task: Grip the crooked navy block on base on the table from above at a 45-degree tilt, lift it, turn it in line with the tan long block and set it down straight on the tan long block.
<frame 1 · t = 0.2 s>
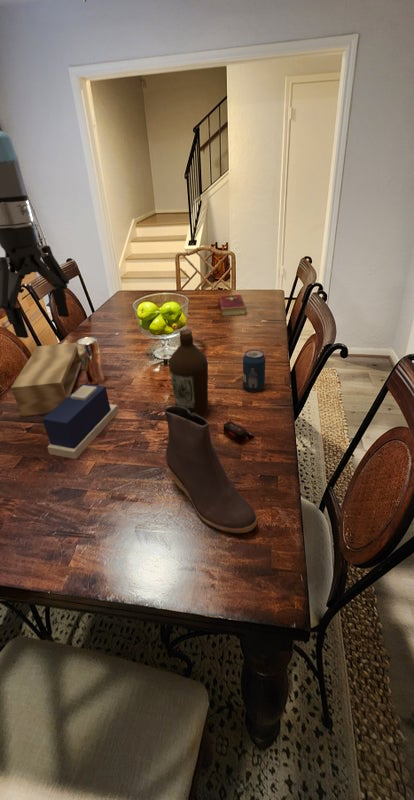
hand: (44, 326, 86), 31 cm above the table, tool pointing down, fingers open, 13 cm apart
navy block on base: (86, 431, 103), on the table
olive oil: (192, 412, 109), on the table
wireless earbuds: (239, 438, 98), on the table
soda can: (253, 387, 120), on the table
tan long block: (55, 389, 125), on the table
hardcover book: (231, 309, 187), on the table
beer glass: (96, 381, 129), on the table
boot: (208, 504, 79), on the table
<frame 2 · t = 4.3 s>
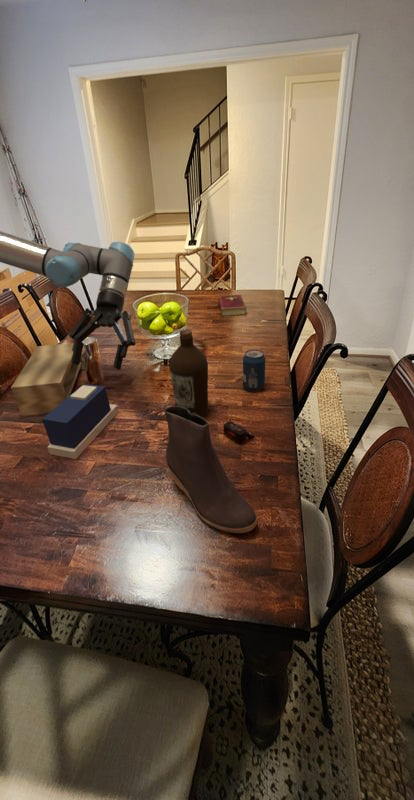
hand: (95, 366, 104), 15 cm above the table, tool tilted 45°, fingers open, 13 cm apart
nothing on the table moved.
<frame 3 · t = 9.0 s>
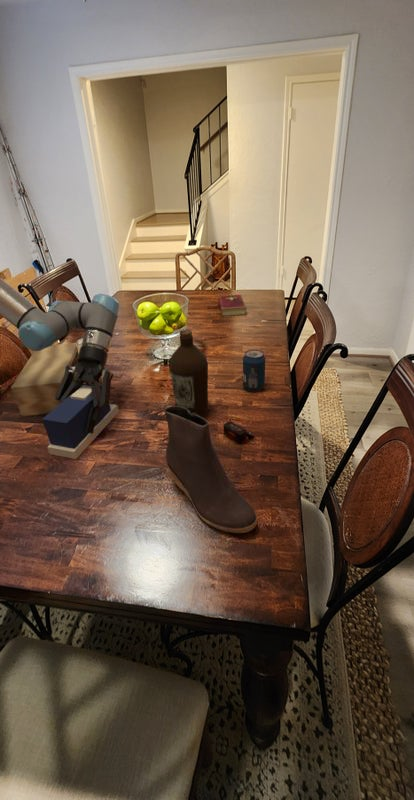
hand: (74, 430, 98), 4 cm above the table, tool tilted 45°, fingers closed on navy block on base, 8 cm apart
navy block on base: (86, 431, 103), on the table, touching gripper
everything else where it was.
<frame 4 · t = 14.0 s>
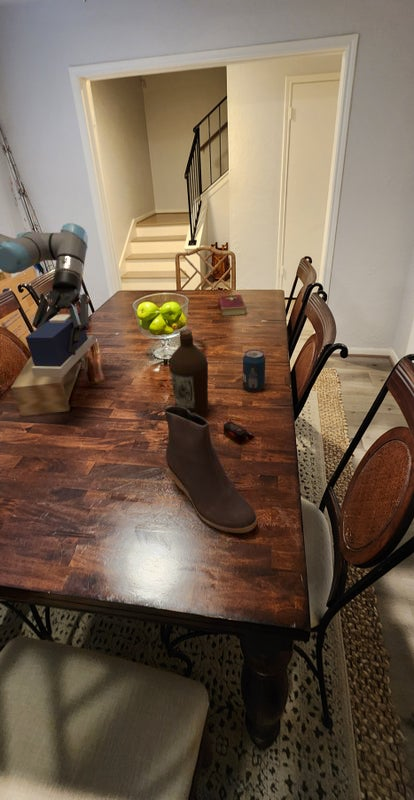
hand: (56, 353, 100), 20 cm above the table, tool tilted 45°, fingers closed on navy block on base, 8 cm apart
navy block on base: (66, 358, 106), point 17 cm above the table, touching gripper
everything else where it was.
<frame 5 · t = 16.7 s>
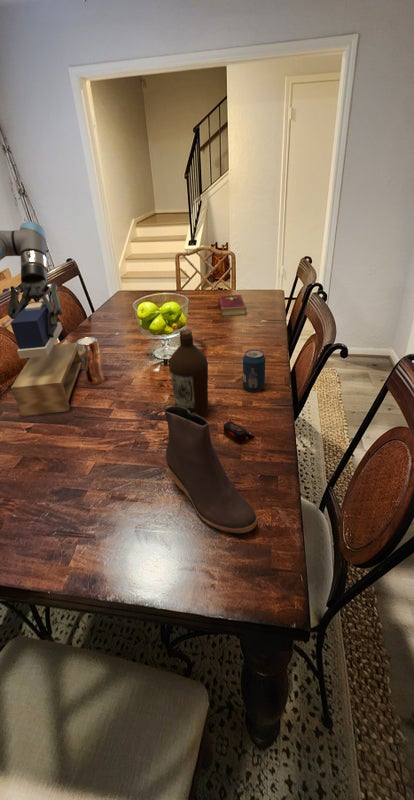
hand: (36, 337, 111), 20 cm above the table, tool tilted 45°, fingers closed on navy block on base, 8 cm apart
navy block on base: (42, 342, 117), point 16 cm above the table, touching gripper
everything else where it was.
when the fingers open (14 cm above the table, at t = 19.0 s): navy block on base stays where it is, resting on tan long block.
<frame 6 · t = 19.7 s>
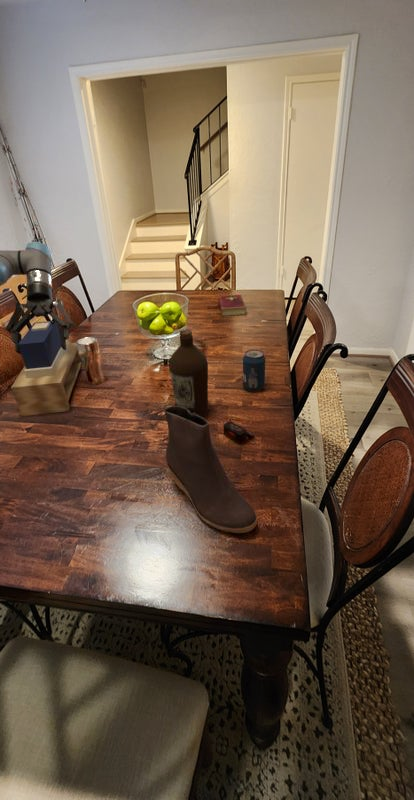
hand: (41, 350, 115), 15 cm above the table, tool tilted 45°, fingers open, 13 cm apart
navy block on base: (48, 361, 120), point 10 cm above the table, touching tan long block
everything else where it was.
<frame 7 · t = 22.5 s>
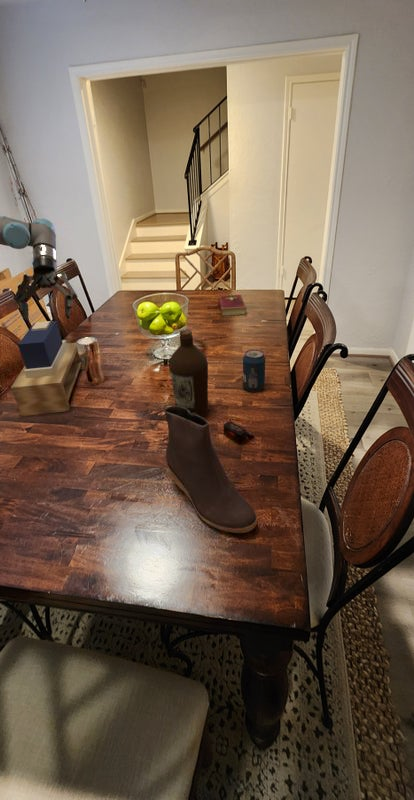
hand: (46, 318, 124), 21 cm above the table, tool tilted 45°, fingers open, 13 cm apart
nothing on the table moved.
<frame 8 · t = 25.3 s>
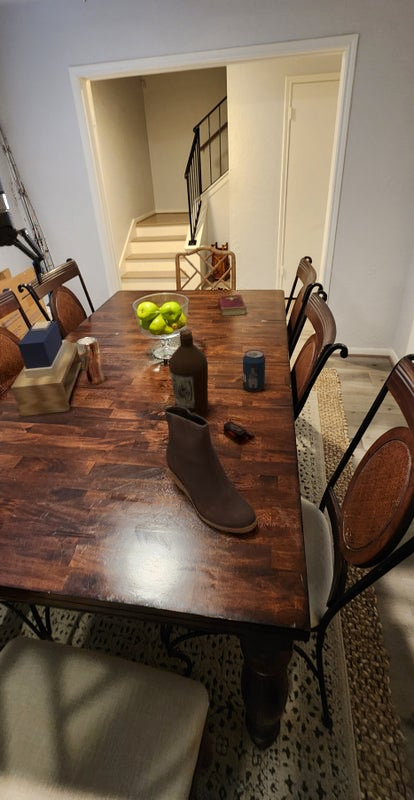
hand: (19, 285, 119), 32 cm above the table, tool pointing down, fingers open, 13 cm apart
nothing on the table moved.
at the end: navy block on base inside the target area on the tan long block (1.0 cm from its centre), point 10.0 cm above the tan long block's base; navy block on base tilted 0°; the gripper is holding nothing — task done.
